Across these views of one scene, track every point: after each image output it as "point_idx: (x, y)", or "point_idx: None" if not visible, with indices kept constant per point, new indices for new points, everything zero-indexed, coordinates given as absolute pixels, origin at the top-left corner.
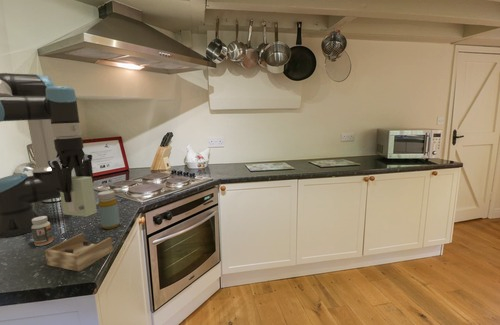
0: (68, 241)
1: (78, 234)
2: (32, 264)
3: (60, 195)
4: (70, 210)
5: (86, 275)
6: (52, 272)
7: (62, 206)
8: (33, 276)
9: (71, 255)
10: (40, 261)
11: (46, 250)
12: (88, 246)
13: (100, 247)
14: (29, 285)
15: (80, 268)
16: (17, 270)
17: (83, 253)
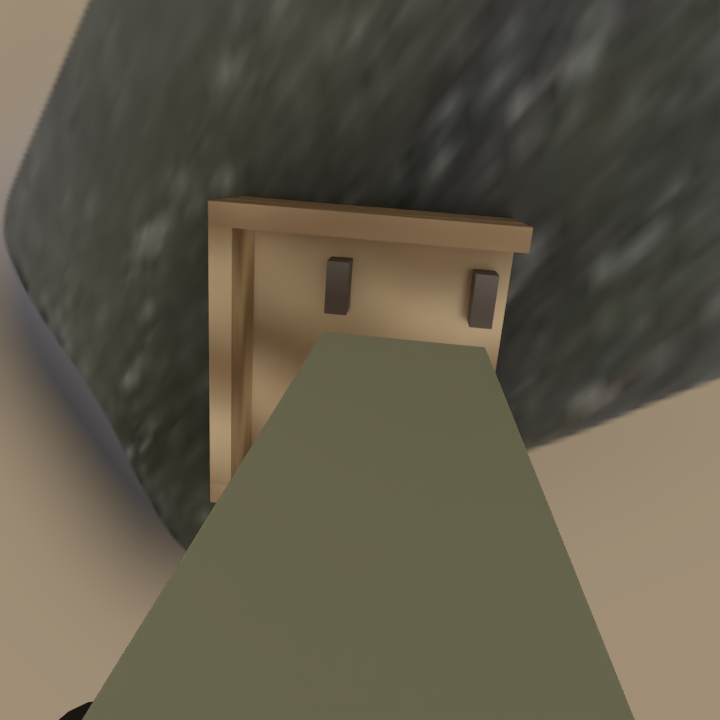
0: (385, 239)
1: (504, 225)
2: (222, 77)
3: (252, 445)
4: None
5: None
6: (194, 312)
7: (300, 369)
8: (133, 238)
9: (210, 460)
10: (266, 96)
11: (212, 220)
12: (458, 327)
13: None
14: (74, 303)
15: None
16: (142, 49)
17: None
